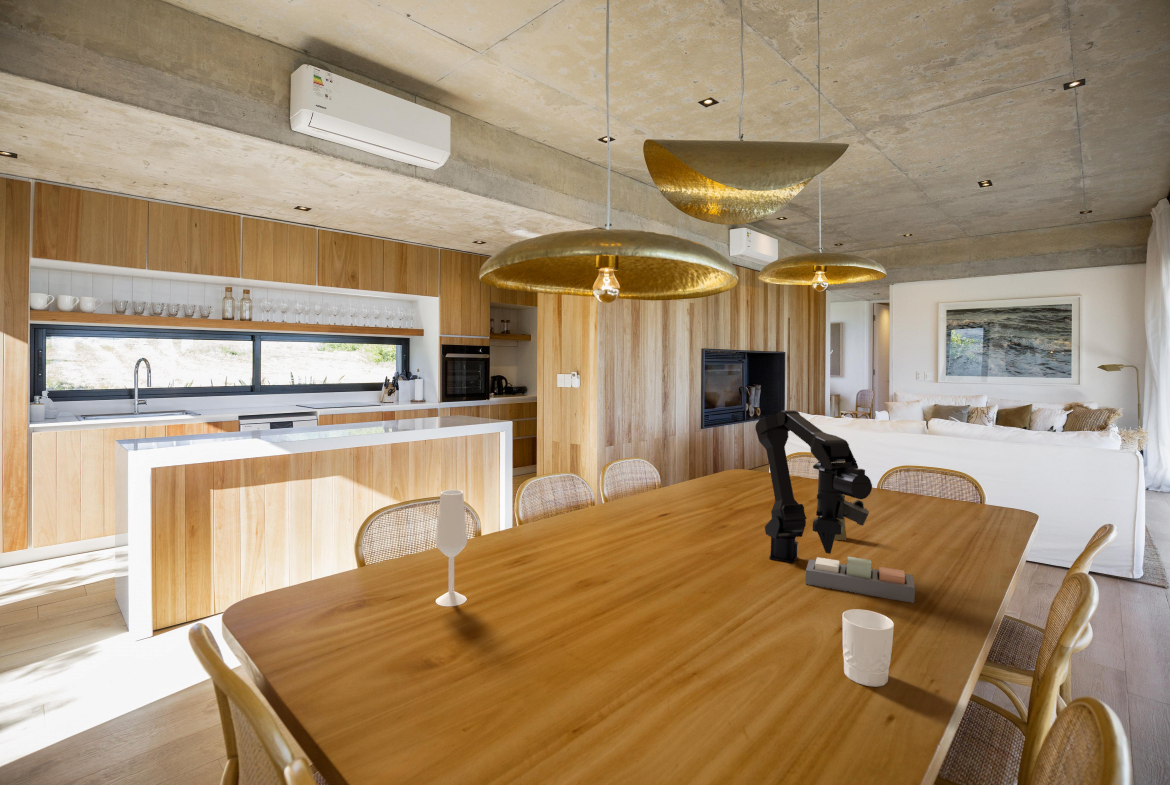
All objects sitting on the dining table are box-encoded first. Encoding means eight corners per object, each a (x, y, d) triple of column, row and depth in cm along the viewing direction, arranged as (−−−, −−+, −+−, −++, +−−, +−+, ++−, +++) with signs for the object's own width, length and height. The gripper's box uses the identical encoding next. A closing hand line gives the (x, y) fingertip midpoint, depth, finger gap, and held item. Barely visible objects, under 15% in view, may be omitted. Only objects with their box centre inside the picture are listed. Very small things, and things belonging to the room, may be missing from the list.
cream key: (814, 579, 140) (815, 563, 140) (816, 572, 145) (816, 557, 145) (837, 583, 138) (838, 567, 138) (838, 576, 143) (839, 560, 143)
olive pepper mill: (848, 541, 175) (850, 505, 174) (827, 540, 176) (829, 504, 175) (844, 535, 181) (845, 501, 180) (823, 534, 182) (825, 499, 181)
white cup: (831, 664, 102) (833, 609, 101) (873, 663, 103) (876, 608, 102) (856, 690, 94) (858, 630, 94) (901, 688, 95) (904, 629, 94)
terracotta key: (878, 590, 134) (879, 573, 134) (878, 583, 139) (879, 566, 139) (904, 594, 132) (905, 577, 132) (903, 587, 137) (904, 570, 136)
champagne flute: (439, 608, 122) (440, 496, 121) (432, 597, 128) (432, 490, 127) (470, 603, 125) (471, 494, 124) (462, 592, 131) (462, 487, 130)
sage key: (846, 579, 137) (846, 562, 137) (847, 572, 142) (847, 556, 142) (870, 583, 135) (871, 566, 135) (870, 576, 140) (871, 560, 139)
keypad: (805, 584, 140) (805, 569, 139) (808, 572, 148) (809, 559, 148) (914, 603, 129) (914, 587, 129) (911, 589, 137) (912, 575, 137)
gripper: (866, 501, 129) (864, 570, 129) (867, 486, 145) (865, 547, 146) (813, 496, 133) (811, 562, 134) (820, 482, 150) (817, 541, 151)
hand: (828, 553), depth 141 cm, fingers closed
